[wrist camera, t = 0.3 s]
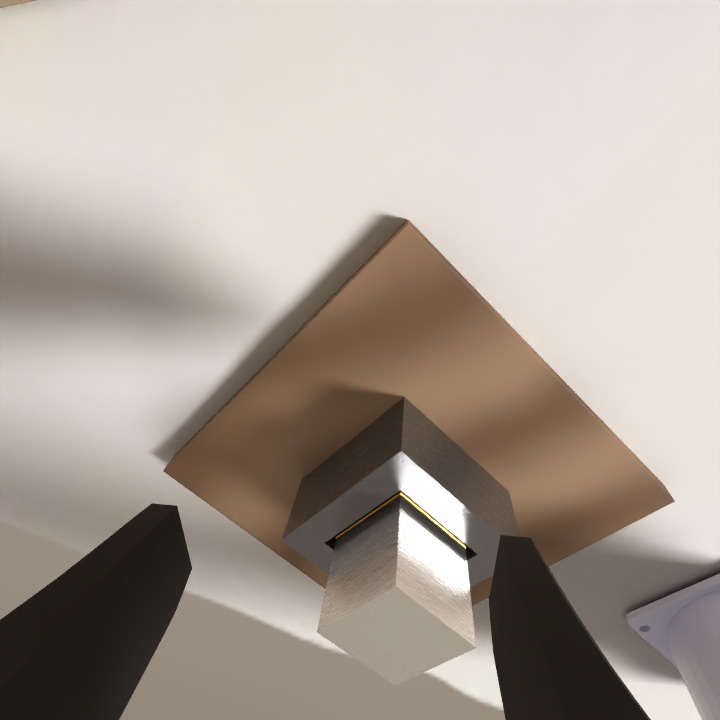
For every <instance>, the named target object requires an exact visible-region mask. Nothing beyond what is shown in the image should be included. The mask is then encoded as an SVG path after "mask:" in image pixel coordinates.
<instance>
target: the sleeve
mask: <svg viewBox="0 0 720 720" xmlns="http://www.w3.org/2000/svg"><path fill="white" fill-rule="evenodd" d="M400 490H401V491H402V492H404V493H405V494H406V495H407V496H408V497H410V498H411V499H412V500H413V501H414V502H416V503H417V504H418V505H419V506H420V507H422V508H423V509H424V510H425V511H426V512H428V513H429V514H430V515H431V516H432V517H434V518H435V519H436V520H437V521H438V522H440V523H441V524H442V525H443V526H444V527H445V528H447V529H448V530H449V531H450V532H451V533H453V534H454V535H455V536H456V537H457V538H459V539H460V540H461V541H462V542H463V543H465V544H466V545H467V547H466V556H467V565H468V575H469V584H470V587H472V586H474V585H476V584H478V583H480V582H482V581H483V580H485V579H487V578H489V577H491V576H493V574H494V568H495V563H496V557H497V551H498V546H499V540H500V535H506V536H517V537H520V535H519V530H518V526H517V522H516V518H515V514H514V510H513V506H512V502H511V497H510V493H509V491H508V490H507V489H506V488H505V487H504V486H502V485H501V484H500V483H499V482H498V481H497V480H496V479H495V478H494V477H493V476H491V475H490V474H489V473H488V472H487V471H486V470H485V469H484V468H483V467H482V466H480V465H479V464H478V463H477V462H476V461H475V460H474V459H473V458H472V457H470V456H469V455H468V454H467V453H466V452H465V451H464V450H463V449H462V448H461V447H459V446H458V445H457V444H456V443H455V442H454V441H453V440H452V439H451V438H450V437H448V436H447V435H446V434H445V433H444V432H443V431H442V430H441V429H440V428H439V427H437V426H436V425H435V424H434V423H433V422H432V421H431V420H430V419H429V418H427V417H426V416H425V415H424V414H423V413H422V412H421V411H420V410H419V409H418V408H416V407H415V406H414V405H413V404H412V403H411V402H410V401H409V400H408V399H407V398H405V397H403V398H402V399H401V400H400V401H398V402H397V403H396V404H395V405H393V406H392V407H391V408H390V409H388V410H387V411H386V412H385V413H383V414H382V415H381V416H380V417H378V418H377V419H376V420H375V421H374V422H372V423H371V424H370V425H369V426H367V427H366V428H365V429H364V430H362V431H361V432H360V433H359V434H357V435H356V436H355V437H354V438H352V439H351V440H350V441H349V442H347V443H346V444H345V445H344V446H342V447H341V448H340V449H339V450H337V451H336V452H335V453H334V454H332V455H331V456H330V457H329V458H328V459H326V460H325V461H324V462H323V463H321V464H320V465H319V466H318V467H316V468H315V469H314V470H313V471H311V472H310V473H309V474H308V475H306V476H305V477H304V478H303V479H302V480H301V483H300V486H299V489H298V492H297V495H296V498H295V501H294V504H293V507H292V510H291V513H290V516H289V519H288V522H287V525H286V528H285V531H284V534H283V537H282V541H284V542H285V543H286V544H288V545H289V546H290V547H292V548H293V549H294V550H296V551H297V552H299V553H300V554H301V555H303V556H304V557H305V558H307V559H308V560H309V561H311V562H312V563H314V564H315V565H316V566H318V567H319V568H320V569H322V570H323V571H324V572H326V573H327V574H328V575H329V571H330V566H331V561H332V557H333V552H334V547H335V542H336V538H335V537H336V535H337V534H338V533H339V532H341V531H342V530H344V529H345V528H347V527H348V526H349V525H351V524H352V523H354V522H355V521H357V520H358V519H360V518H361V517H362V516H364V515H365V514H367V513H368V512H370V511H371V510H372V509H374V508H375V507H377V506H378V505H380V504H381V503H383V502H384V501H385V500H387V499H388V498H390V497H391V496H393V495H394V494H395V493H397V492H398V491H400Z"/></svg>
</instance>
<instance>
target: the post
mask: <svg viewBox="0 0 720 720" xmlns="http://www.w3.org/2000/svg"><path fill="white" fill-rule="evenodd" d="M335 538H336V542H335V547H334V552H333V557H332V561H331V566H330V571H329V576H328V581H327V586H326V591H325V596H324V601H323V605H322V610H321V615H320V620H319V625H318V630H317V632H318V633H319V634H321V635H322V636H323V637H325V638H326V639H328V640H329V641H331V642H332V643H334V644H335V645H336V646H338V647H339V648H341V649H342V650H344V651H345V652H347V653H348V654H350V655H351V656H352V657H354V658H355V659H357V660H358V661H360V662H361V663H363V664H364V665H366V666H367V667H368V668H370V669H371V670H373V671H374V672H376V673H377V674H379V675H380V676H381V677H383V678H384V679H386V680H387V681H389V682H390V683H391V684H393V685H397V684H399V683H401V682H404V681H406V680H408V679H410V678H412V677H414V676H416V675H419V674H421V673H423V672H425V671H427V670H429V669H431V668H434V667H436V666H438V665H440V664H442V663H444V662H447V661H449V660H451V659H453V658H455V657H457V656H459V655H462V654H464V653H466V652H468V651H470V650H472V649H474V648H476V640H475V631H474V621H473V612H472V603H471V593H470V584H469V575H468V565H467V556H466V547H467V545H466V544H465V543H463V542H462V541H461V540H460V539H459V538H457V537H456V536H455V535H454V534H453V533H451V532H450V531H449V530H448V529H447V528H445V527H444V526H443V525H442V524H441V523H440V522H438V521H437V520H436V519H435V518H434V517H432V516H431V515H430V514H429V513H428V512H426V511H425V510H424V509H423V508H422V507H420V506H419V505H418V504H417V503H416V502H414V501H413V500H412V499H411V498H410V497H408V496H407V495H406V494H405V493H404V492H402V491H401V490H400V491H398V492H397V493H395V494H394V495H393V496H391V497H390V498H388V499H387V500H385V501H384V502H383V503H381V504H380V505H378V506H377V507H375V508H374V509H372V510H371V511H370V512H368V513H367V514H365V515H364V516H362V517H361V518H360V519H358V520H357V521H355V522H354V523H352V524H351V525H349V526H348V527H347V528H345V529H344V530H342V531H341V532H339V533H338V534H337V535H336V537H335Z"/></svg>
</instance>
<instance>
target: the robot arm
mask: <svg viewBox="0 0 720 720" xmlns="http://www.w3.org/2000/svg"><path fill="white" fill-rule="evenodd" d="M191 570H192V566H191V562H190V558H189V554H188V550H187V545H186V541H185V537H184V533H183V529H182V525H181V520H180V516H179V512H178V508H177V506H173V505H162V504H151V505H150V506H148V507H147V508H146V509H144V510H143V511H142V512H140V513H139V514H138V515H137V516H135V517H134V518H133V519H132V520H130V521H129V522H128V523H127V524H125V525H124V526H123V527H122V528H120V529H119V530H118V531H117V532H115V533H114V534H113V535H112V536H110V537H109V538H108V539H107V540H105V541H104V542H103V543H102V544H100V545H99V546H98V547H97V548H95V549H94V550H93V551H91V552H90V553H89V554H88V555H86V556H85V557H84V558H83V559H81V560H80V561H79V562H77V563H76V564H75V565H74V566H72V567H71V568H70V569H68V570H67V571H66V572H65V573H63V574H62V575H61V576H60V577H58V578H57V579H56V580H54V581H53V582H51V583H50V584H49V585H47V586H46V587H45V588H43V589H42V590H41V591H39V592H38V593H36V594H35V595H34V596H32V597H31V598H30V599H28V600H27V601H26V602H24V603H23V604H21V605H20V606H19V607H17V608H16V609H14V610H13V611H12V612H10V613H9V614H8V615H6V616H5V617H4V618H2V619H1V620H0V720H119V719H120V717H121V715H122V713H123V711H124V709H125V707H126V705H127V704H128V702H129V700H130V698H131V696H132V694H133V692H134V690H135V688H136V687H137V684H138V683H139V681H140V679H141V677H142V675H143V673H144V671H145V670H146V667H147V666H148V664H149V662H150V660H151V658H152V656H153V654H154V653H155V651H156V649H157V647H158V645H159V643H160V641H161V639H162V637H163V635H164V633H165V631H166V629H167V628H168V626H169V624H170V622H171V619H172V618H173V616H174V613H175V611H176V609H177V606H178V603H179V601H180V599H181V596H182V594H183V591H184V589H185V586H186V583H187V580H188V578H189V575H190V572H191ZM489 608H490V621H491V632H492V643H493V653H494V659H495V664H496V670H497V675H498V681H499V686H500V692H501V697H502V702H503V708H504V713H505V718H506V720H651V719H650V718H649V717H648V715H647V714H646V713H645V711H644V710H643V709H642V707H641V706H640V705H639V703H638V702H637V701H636V699H635V698H634V697H633V695H632V694H631V692H630V691H629V690H628V688H627V687H626V686H625V684H624V683H623V681H622V680H621V679H620V677H619V676H618V674H617V673H616V672H615V670H614V669H613V667H612V666H611V665H610V663H609V662H608V660H607V659H606V657H605V656H604V654H603V653H602V652H601V650H600V649H599V647H598V646H597V644H596V642H595V641H594V639H593V638H592V636H591V635H590V633H589V632H588V630H587V629H586V627H585V626H584V624H583V623H582V621H581V620H580V618H579V617H578V615H577V614H576V612H575V610H574V609H573V607H572V606H571V604H570V602H569V601H568V599H567V598H566V596H565V594H564V593H563V591H562V589H561V588H560V586H559V584H558V583H557V581H556V579H555V578H554V576H553V574H552V572H551V571H550V569H549V567H548V565H547V564H546V562H545V560H544V558H543V557H542V555H541V553H540V551H539V549H538V547H537V546H536V544H535V542H534V541H533V540H532V539H531V538H528V537H517V536H506V535H500V540H499V546H498V551H497V557H496V563H495V568H494V574H493V579H492V585H491V590H490V596H489ZM626 620H627V622H628V624H629V626H630V627H631V628H632V629H633V630H635V631H636V632H637V633H638V634H639V635H640V636H641V637H642V638H644V639H645V640H646V641H647V642H648V643H649V644H650V645H651V646H653V647H654V648H655V649H656V650H657V651H658V652H659V653H661V654H662V655H663V656H664V657H665V658H666V659H667V660H668V661H670V662H671V663H672V664H673V665H674V666H675V667H676V668H677V669H678V670H679V672H680V674H681V676H682V678H683V680H684V683H685V685H686V687H687V689H688V691H689V693H690V695H691V697H692V699H693V701H694V704H695V706H696V708H697V710H698V712H699V714H700V716H701V718H702V720H720V573H719V574H717V575H715V576H712V577H710V578H708V579H705V580H703V581H701V582H698V583H696V584H694V585H691V586H689V587H687V588H684V589H682V590H680V591H678V592H675V593H673V594H671V595H668V596H666V597H664V598H661V599H659V600H657V601H654V602H652V603H650V604H647V605H645V606H643V607H640V608H638V609H636V610H633V611H631V612H630V613H628V614H627V616H626Z"/></svg>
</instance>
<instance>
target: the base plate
mask: <svg viewBox="0 0 720 720" xmlns="http://www.w3.org/2000/svg"><path fill="white" fill-rule="evenodd" d="M403 397H405V398H407V399H408V400H409V401H410V402H411V403H412V404H413V405H414V406H415V407H416V408H418V409H419V410H420V411H421V412H422V413H423V414H424V415H425V416H426V417H427V418H429V419H430V420H431V421H432V422H433V423H434V424H435V425H436V426H437V427H439V428H440V429H441V430H442V431H443V432H444V433H445V434H446V435H447V436H448V437H450V438H451V439H452V440H453V441H454V442H455V443H456V444H457V445H458V446H459V447H461V448H462V449H463V450H464V451H465V452H466V453H467V454H468V455H469V456H470V457H472V458H473V459H474V460H475V461H476V462H477V463H478V464H479V465H480V466H482V467H483V468H484V469H485V470H486V471H487V472H488V473H489V474H490V475H491V476H493V477H494V478H495V479H496V480H497V481H498V482H499V483H500V484H501V485H502V486H504V487H505V488H506V489H507V490H508V491H509V493H510V497H511V502H512V506H513V510H514V514H515V518H516V522H517V526H518V530H519V535H520V537H528V538H531V539H532V540H533V541H534V542H535V544H536V546H537V547H538V549H539V551H540V553H541V555H542V557H543V558H544V560H545V562H546V564H547V565H548V566H550V565H552V564H554V563H556V562H558V561H560V560H562V559H564V558H565V557H567V556H569V555H571V554H573V553H575V552H577V551H579V550H581V549H583V548H585V547H587V546H589V545H591V544H593V543H595V542H597V541H599V540H601V539H602V538H604V537H606V536H608V535H610V534H612V533H614V532H616V531H618V530H620V529H622V528H624V527H626V526H628V525H630V524H632V523H634V522H636V521H637V520H639V519H641V518H643V517H645V516H647V515H649V514H651V513H653V512H655V511H657V510H659V509H661V508H663V507H665V506H667V505H669V504H671V503H673V502H674V499H673V498H672V496H671V495H670V493H669V492H668V490H667V489H666V487H665V486H664V485H663V484H662V482H661V481H660V480H659V479H658V478H657V477H656V476H655V475H654V474H653V473H652V472H651V471H650V470H649V469H648V468H647V467H646V466H645V465H644V464H643V463H642V462H641V461H640V460H639V459H638V458H637V457H636V455H635V454H634V453H633V452H632V451H631V450H630V449H629V448H628V447H627V446H626V445H625V444H624V443H623V442H622V441H621V440H620V439H619V438H618V437H617V436H616V435H615V434H614V433H613V432H612V431H611V430H610V428H609V427H608V426H607V425H606V424H605V423H604V422H603V421H602V420H601V419H600V418H599V417H598V416H597V415H596V414H595V413H594V412H593V411H592V410H591V409H590V408H589V407H588V406H587V405H586V404H585V403H584V402H583V400H582V399H581V398H580V397H579V396H578V395H577V394H576V393H575V392H574V391H573V390H572V389H571V388H570V387H569V386H568V385H567V384H566V383H565V382H564V381H563V380H562V379H561V378H560V377H559V376H558V375H557V373H556V372H555V371H554V370H553V369H552V368H551V367H550V366H549V365H548V364H547V363H546V362H545V361H544V360H543V359H542V358H541V357H540V356H539V355H538V354H537V353H536V352H535V351H534V350H533V349H532V348H531V346H530V345H529V344H528V343H527V342H526V341H525V340H524V339H523V338H522V337H521V336H520V335H519V334H518V333H517V332H516V331H515V330H514V329H513V328H512V327H511V326H510V325H509V324H508V323H507V322H506V321H505V320H504V318H503V317H502V316H501V315H500V314H499V313H498V312H497V311H496V310H495V309H494V308H493V307H492V306H491V305H490V304H489V303H488V302H487V301H486V300H485V299H484V298H483V297H482V296H481V295H480V294H479V293H478V291H477V290H476V289H475V288H474V287H473V286H472V285H471V284H470V283H469V282H468V281H467V280H466V279H465V278H464V277H463V276H462V275H461V274H460V273H459V272H458V271H457V270H456V269H455V268H454V267H453V266H452V264H451V263H450V262H449V261H448V260H447V259H446V258H445V257H444V256H443V255H442V254H441V253H440V252H439V251H438V250H437V249H436V248H435V247H434V246H433V245H432V244H431V243H430V242H429V241H428V240H427V239H426V238H425V236H424V235H423V234H422V233H421V232H420V231H419V230H418V229H417V228H416V227H415V226H414V225H413V224H412V223H411V222H410V221H409V220H408V221H407V222H406V223H405V224H404V225H403V226H402V227H401V228H400V229H399V230H398V231H397V232H396V233H395V234H394V235H393V236H392V237H391V238H390V239H389V240H388V241H387V242H386V243H385V244H384V245H383V246H382V247H381V248H380V249H379V250H378V251H377V252H376V253H375V254H374V255H373V256H372V257H371V258H370V259H369V260H368V261H367V262H366V263H365V264H364V265H363V266H362V267H361V268H360V269H359V270H358V271H357V272H356V273H355V274H354V275H353V276H352V277H351V278H350V279H349V280H348V281H347V282H346V283H345V284H344V285H343V286H342V287H341V288H340V289H339V290H338V291H337V292H336V293H335V294H334V295H333V296H332V297H331V298H330V299H329V300H328V301H327V302H326V303H325V304H324V306H323V307H322V308H321V309H320V310H319V311H318V312H317V313H316V314H315V315H314V316H313V317H312V318H311V319H310V320H309V321H308V322H307V323H306V324H305V325H304V326H303V327H302V328H301V329H300V330H299V331H298V332H297V333H296V334H295V335H294V336H293V337H292V338H291V339H290V340H289V341H288V342H287V343H286V344H285V345H284V346H283V347H282V348H281V349H280V350H279V351H278V352H277V353H276V354H275V355H274V356H273V357H272V358H271V359H270V360H269V361H268V362H267V363H266V364H265V365H264V366H263V367H262V368H261V369H260V370H259V371H258V372H257V373H256V374H255V375H254V376H253V377H252V378H251V379H250V380H249V381H248V382H247V383H246V384H245V385H244V386H243V387H242V388H241V389H240V390H239V391H238V392H237V393H236V394H235V395H234V397H233V398H232V399H231V400H230V401H229V402H228V403H227V404H226V405H225V406H224V407H223V408H222V409H221V410H220V411H219V412H218V413H217V414H216V415H215V416H214V417H213V418H212V419H211V420H210V421H209V422H208V423H207V424H206V425H205V426H204V427H203V428H202V429H201V430H200V431H199V432H198V433H197V434H196V435H195V436H194V437H193V438H192V439H191V440H190V441H189V442H188V443H187V444H186V445H185V446H184V447H183V448H182V449H181V450H180V451H179V452H178V453H177V454H176V455H175V456H174V457H173V458H172V460H171V461H170V462H169V464H168V465H167V466H166V468H165V469H164V470H163V471H164V472H165V473H167V474H168V475H169V476H171V477H172V478H174V479H175V480H176V481H178V482H179V483H180V484H182V485H183V486H185V487H186V488H187V489H189V490H190V491H191V492H193V493H194V494H196V495H197V496H198V497H200V498H201V499H202V500H204V501H205V502H207V503H208V504H209V505H211V506H212V507H213V508H215V509H216V510H218V511H219V512H220V513H222V514H223V515H225V516H226V517H227V518H229V519H230V520H231V521H233V522H234V523H236V524H237V525H238V526H240V527H241V528H242V529H244V530H245V531H247V532H248V533H249V534H251V535H252V536H253V537H255V538H256V539H258V540H259V541H260V542H262V543H263V544H265V545H266V546H267V547H269V548H270V549H271V550H273V551H274V552H276V553H277V554H278V555H280V556H281V557H282V558H284V559H285V560H287V561H288V562H289V563H291V564H292V565H293V566H295V567H296V568H298V569H299V570H300V571H302V572H303V573H304V574H306V575H307V576H309V577H310V578H311V579H313V580H314V581H316V582H317V583H318V584H320V585H321V586H322V587H324V588H325V589H326V586H327V581H328V576H329V575H328V574H327V573H326V572H324V571H323V570H322V569H320V568H319V567H318V566H316V565H315V564H314V563H312V562H311V561H309V560H308V559H307V558H305V557H304V556H303V555H301V554H300V553H299V552H297V551H296V550H294V549H293V548H292V547H290V546H289V545H288V544H286V543H285V542H284V541H282V537H283V534H284V531H285V528H286V525H287V522H288V519H289V516H290V513H291V510H292V507H293V504H294V501H295V498H296V495H297V492H298V489H299V486H300V483H301V480H302V479H303V478H304V477H305V476H306V475H308V474H309V473H310V472H311V471H313V470H314V469H315V468H316V467H318V466H319V465H320V464H321V463H323V462H324V461H325V460H326V459H328V458H329V457H330V456H331V455H332V454H334V453H335V452H336V451H337V450H339V449H340V448H341V447H342V446H344V445H345V444H346V443H347V442H349V441H350V440H351V439H352V438H354V437H355V436H356V435H357V434H359V433H360V432H361V431H362V430H364V429H365V428H366V427H367V426H369V425H370V424H371V423H372V422H374V421H375V420H376V419H377V418H378V417H380V416H381V415H382V414H383V413H385V412H386V411H387V410H388V409H390V408H391V407H392V406H393V405H395V404H396V403H397V402H398V401H400V400H401V399H402V398H403ZM492 579H493V576H491V577H489V578H487V579H485V580H483V581H482V582H480V583H478V584H476V585H474V586H472V587H470V593H471V603H472V605H474V604H476V603H478V602H480V601H482V600H484V599H486V598H488V597H489V596H490V590H491V585H492Z"/></svg>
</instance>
